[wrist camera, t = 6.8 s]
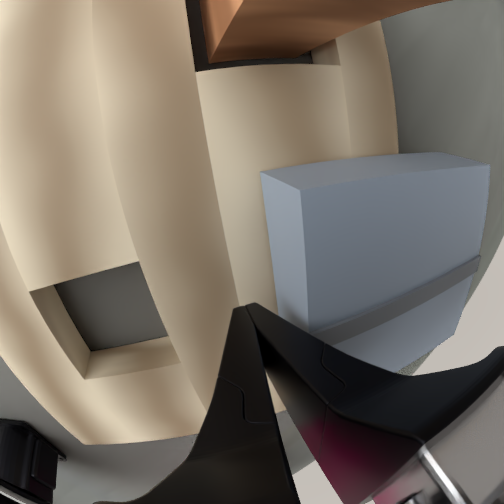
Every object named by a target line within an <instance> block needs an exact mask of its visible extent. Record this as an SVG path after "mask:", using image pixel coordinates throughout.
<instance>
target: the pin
mask: <svg viewBox="0 0 504 504" xmlns="http://www.w3.org/2000/svg"><path fill="white" fill-rule="evenodd" d="M446 1H451V0H199V4H200V10H201V17H202V24H203V30H204V36H205V43H206V49H207V56H208V62H209V64H210V63H218V62H226V61H236V60H248V59H266V58H296V57H298V56H300V55H302V54H304V53H306V52H308V51H310V50H312V49H314V48H316V47H318V46H320V45H322V44H324V43H326V42H328V41H330V40H332V39H334V38H337V37H339V36H341V35H343V34H346V33H348V32H350V31H353V30H355V29H358V28H360V27H363V26H365V25H368V24H370V23H373V22H376V21H378V20H381V19H384V18H387V17H390V16H393V15H396V14H399V13H402V12H406V11H409V10H413V9H416V8H420V7H424V6H428V5H432V4H436V3H441V2H446Z"/></svg>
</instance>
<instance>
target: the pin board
mask: <svg viewBox="0 0 504 504" xmlns="http://www.w3.org/2000/svg"><path fill="white" fill-rule="evenodd" d="M311 55H312V61H313V64H269V65H252V66H240V67H230V68H222V69H214V70H207V71H200V72H195V67H194V60H193V54H192V47H191V40H190V33H189V26H188V19H187V12H186V4H185V0H0V355H1V357H2V358H3V360H4V361H5V362H6V364H7V365H8V366H9V368H10V369H11V370H12V371H13V373H14V374H15V375H16V376H17V378H18V379H19V380H20V381H21V383H22V384H23V385H24V386H25V387H26V388H27V390H28V391H29V392H30V393H31V394H32V395H33V396H34V397H35V399H36V400H37V401H38V402H39V403H40V404H41V405H42V406H43V407H44V408H45V409H46V410H47V411H48V412H49V413H50V414H51V415H52V416H53V417H54V418H55V419H56V420H57V421H58V422H59V423H60V424H61V425H62V426H63V427H65V428H66V429H67V430H68V431H69V432H70V433H71V434H72V435H74V436H75V437H76V438H77V439H78V440H79V441H81V442H82V443H83V444H84V445H93V444H120V443H134V442H144V441H153V440H161V439H168V438H175V437H181V436H187V435H192V434H198V433H199V431H200V429H201V426H202V424H203V421H204V419H205V416H206V414H207V411H208V408H209V406H210V403H211V400H212V396H213V393H214V389H215V385H216V380H217V378H218V372H219V367H220V363H221V359H222V354H223V350H224V345H225V341H226V336H227V332H228V328H229V323H230V319H231V314H232V310H233V308H235V307H239V306H245V305H246V304H250V303H253V302H256V303H258V304H260V305H262V306H263V307H265V308H267V309H268V310H270V311H272V312H273V313H275V314H277V315H278V307H277V298H276V290H275V282H274V274H273V266H272V258H271V250H270V243H269V235H268V228H267V220H266V213H265V206H264V198H263V191H262V184H261V177H260V172H261V171H267V170H272V169H278V168H284V167H290V166H297V165H303V164H310V163H317V162H325V161H333V160H341V159H349V158H359V157H369V156H380V155H392V154H399V152H398V132H397V119H396V108H395V99H394V91H393V84H392V77H391V71H390V65H389V59H388V54H387V49H386V44H385V39H384V35H383V31H382V27H381V23H380V20H378V21H376V22H373V23H370V24H368V25H365V26H363V27H360V28H358V29H355V30H353V31H350V32H348V33H346V34H343V35H341V36H339V37H337V38H334V39H332V40H330V41H328V42H326V43H324V44H322V45H320V46H318V47H316V48H314V49H312V50H311ZM137 261H139V262H140V265H141V268H142V271H143V273H144V276H145V279H146V282H147V284H148V287H149V289H150V292H151V295H152V297H153V300H154V302H155V305H156V307H157V310H158V312H159V314H160V317H161V319H162V322H163V324H164V326H165V329H166V331H167V333H168V335H169V336H167V337H162V338H158V339H153V340H149V341H144V342H139V343H135V344H130V345H125V346H120V347H115V348H109V349H104V350H98V351H93V352H91V351H90V350H89V348H88V347H87V345H86V343H85V342H84V340H83V339H82V337H81V335H80V334H79V332H78V330H77V328H76V327H75V325H74V323H73V322H72V320H71V318H70V316H69V314H68V312H67V311H66V309H65V307H64V305H63V303H62V301H61V299H60V297H59V295H58V293H57V291H56V289H55V287H54V284H57V283H61V282H64V281H68V280H71V279H75V278H78V277H82V276H86V275H89V274H93V273H96V272H100V271H104V270H107V269H111V268H115V267H119V266H122V265H126V264H130V263H134V262H137ZM278 316H279V315H278ZM266 375H267V373H266ZM267 380H268V384H269V388H270V393H271V397H272V401H273V405H274V410H275V413H278V412H281V411H284V410H287V409H286V408H285V406H284V404H283V402H282V401H281V399H280V397H279V395H278V393H277V392H276V390H275V388H274V386H273V384H272V382H271V381H270V379H269V377H268V375H267Z"/></svg>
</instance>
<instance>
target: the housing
mask: <svg viewBox="0 0 504 504" xmlns="http://www.w3.org/2000/svg"><path fill="white" fill-rule="evenodd" d="M260 177H261V184H262V191H263V198H264V206H265V213H266V220H267V228H268V235H269V243H270V250H271V258H272V266H273V274H274V282H275V290H276V298H277V307H278V315H279V316H280V317H282V318H283V319H285V320H287V321H289V322H290V323H292V324H294V325H295V326H297V327H299V328H301V329H302V330H304V331H306V332H308V333H309V334H311V335H313V336H315V337H316V338H318V339H320V340H322V341H323V342H325V343H327V344H329V345H331V346H333V347H334V348H336V349H338V350H340V351H342V352H344V353H346V354H348V355H351V356H353V357H355V358H358V359H360V360H362V361H365V362H367V363H370V364H373V365H375V366H378V367H381V368H383V369H386V370H389V371H391V372H394V373H395V372H397V371H398V370H400V369H402V368H404V367H405V366H407V365H409V364H410V363H412V362H414V361H415V360H417V359H418V358H420V357H422V356H423V355H425V354H426V353H428V352H429V351H431V350H432V349H434V348H435V347H437V346H438V345H440V344H441V343H442V342H444V341H445V340H447V339H448V338H449V337H451V336H452V335H454V332H455V330H456V327H457V325H458V322H459V319H460V317H461V314H462V311H463V308H464V305H465V302H466V299H467V296H468V293H469V289H470V286H471V282H472V279H473V275H474V273H475V272H477V270H478V266H479V262H480V257H481V256H480V255H479V250H480V245H481V240H482V235H483V230H484V224H485V217H486V210H487V202H488V192H489V180H490V165H489V164H485V163H482V162H478V161H475V160H471V159H467V158H463V157H459V156H455V155H451V154H447V153H442V152H426V153H407V154H392V155H380V156H369V157H359V158H349V159H341V160H333V161H325V162H317V163H310V164H303V165H297V166H290V167H284V168H278V169H272V170H267V171H261V172H260Z"/></svg>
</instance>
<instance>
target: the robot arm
mask: <svg viewBox="0 0 504 504" xmlns="http://www.w3.org/2000/svg"><path fill="white" fill-rule="evenodd" d="M266 373H267V375H268V377H269V379H270V381H271V382H272V384H273V386H274V388H275V390H276V392H277V393H278V395H279V397H280V399H281V401H282V402H283V404H284V406H285V408H286V409H287V411H288V413H289V415H290V417H291V418H292V420H293V422H294V424H295V425H296V427H297V429H298V430H299V432H300V434H301V436H302V437H303V439H304V441H305V442H306V444H307V446H308V448H309V449H310V451H311V453H312V454H313V456H314V458H315V459H316V461H317V462H318V463H319V466H320V467H321V469H322V471H323V472H324V474H325V476H326V477H327V479H328V480H329V482H330V484H331V485H332V487H333V488H334V490H335V491H336V493H337V494H338V496H339V497H340V499H341V501H342V502H343V503H344V504H365V503H367V502H369V501H371V500H374V502H375V504H504V346H500V347H497V348H495V349H494V350H493V351H492V352H491V353H490V354H489V355H488V356H487V357H486V358H484V359H483V360H481V361H479V362H477V363H474V364H471V365H468V366H464V367H460V368H455V369H450V370H445V371H441V372H435V373H429V374H423V375H416V376H408V375H401V374H397V373H394V372H391V371H389V370H386V369H383V368H381V367H378V366H375V365H373V364H370V363H367V362H365V361H362V360H360V359H358V358H355V357H353V356H351V355H348V354H346V353H344V352H342V351H340V350H338V349H336V348H334V347H333V346H331V345H329V344H327V343H325V342H323V341H322V340H320V339H318V338H316V337H315V336H313V335H311V334H309V333H308V332H306V331H304V330H302V329H301V328H299V327H297V326H295V325H294V324H292V323H290V322H289V321H287V320H285V319H283V318H282V317H280V316H278V315H277V314H275V313H273V312H272V311H270V310H268V309H267V308H265V307H263V306H262V305H260V304H258V303H256V302H253V303H250V304H246V305H245V306H239V307H235V308H233V310H232V314H231V319H230V323H229V328H228V332H227V336H226V341H225V345H224V350H223V354H222V359H221V363H220V367H219V372H218V378H217V380H216V385H215V389H214V393H213V396H212V400H211V403H210V406H209V408H208V411H207V414H206V416H205V419H204V421H203V424H202V426H201V429H200V431H199V434H198V436H197V438H196V441H195V443H194V446H193V448H192V450H191V452H190V454H189V455H188V457H187V458H186V460H185V461H184V462H183V463H182V464H181V465H180V466H179V467H177V468H176V469H175V470H174V471H173V472H172V473H171V474H169V475H168V476H167V477H166V478H165V479H163V480H162V481H161V482H160V483H159V484H157V485H156V486H155V487H154V488H152V489H151V490H150V491H149V492H147V493H146V494H145V495H143V496H141V497H139V498H137V499H135V500H131V501H127V502H109V501H98V502H95V503H93V504H301V503H300V500H299V497H298V494H297V491H296V487H295V484H294V480H293V477H292V473H291V470H290V467H289V463H288V460H287V456H286V453H285V449H284V446H283V442H282V438H281V435H280V431H279V426H278V422H277V418H276V414H275V410H274V405H273V401H272V397H271V393H270V388H269V384H268V380H267V375H266ZM58 461H66V456H65V455H64V454H62V453H61V452H60V451H58V450H57V449H56V448H54V447H53V446H52V445H51V444H49V443H48V442H47V441H46V440H45V439H43V438H42V437H41V436H40V435H39V434H37V433H36V432H35V431H34V430H33V429H32V428H31V427H30V426H29V425H27V424H26V423H24V422H21V421H10V420H1V419H0V491H2V492H4V493H6V494H8V495H10V496H12V497H14V498H15V499H17V500H20V501H22V502H24V503H26V504H50V503H51V504H53V490H55V488H56V474H57V463H58ZM0 504H20V503H18V502H16V501H14V500H12V499H10V498H8V497H6V496H4V495H2V494H1V493H0Z"/></svg>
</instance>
